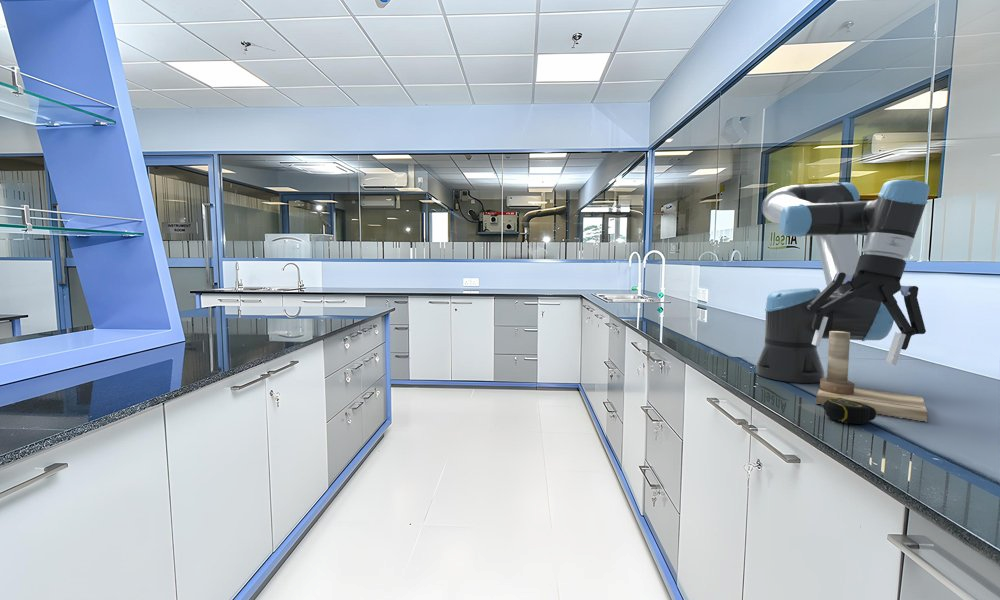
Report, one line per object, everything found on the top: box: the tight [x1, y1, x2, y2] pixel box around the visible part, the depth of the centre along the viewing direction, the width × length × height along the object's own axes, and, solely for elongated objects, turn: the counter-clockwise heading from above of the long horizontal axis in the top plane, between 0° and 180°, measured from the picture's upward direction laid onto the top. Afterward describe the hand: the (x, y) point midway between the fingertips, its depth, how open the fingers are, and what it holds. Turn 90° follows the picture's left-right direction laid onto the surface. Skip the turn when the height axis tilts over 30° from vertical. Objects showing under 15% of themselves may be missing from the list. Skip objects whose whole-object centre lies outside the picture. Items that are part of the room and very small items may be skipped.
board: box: [815, 387, 928, 423], centre depth 93 cm, size 12×17×2 cm
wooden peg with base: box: [819, 331, 855, 394], centre depth 96 cm, size 7×6×13 cm
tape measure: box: [823, 398, 877, 425], centre depth 84 cm, size 7×7×4 cm
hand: (851, 354), depth 94 cm, fingers open, 13 cm apart
